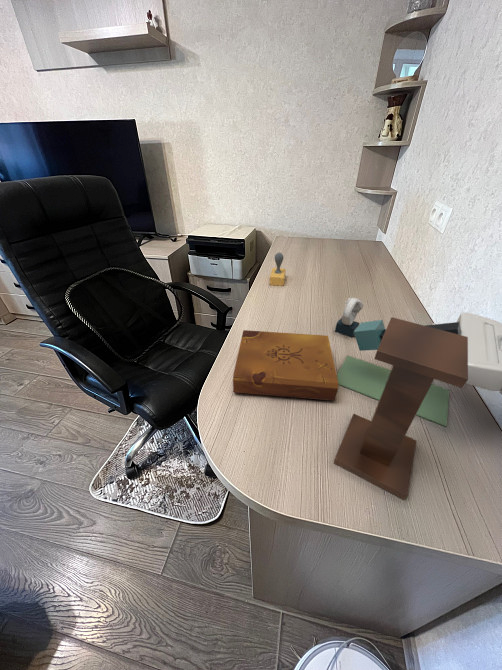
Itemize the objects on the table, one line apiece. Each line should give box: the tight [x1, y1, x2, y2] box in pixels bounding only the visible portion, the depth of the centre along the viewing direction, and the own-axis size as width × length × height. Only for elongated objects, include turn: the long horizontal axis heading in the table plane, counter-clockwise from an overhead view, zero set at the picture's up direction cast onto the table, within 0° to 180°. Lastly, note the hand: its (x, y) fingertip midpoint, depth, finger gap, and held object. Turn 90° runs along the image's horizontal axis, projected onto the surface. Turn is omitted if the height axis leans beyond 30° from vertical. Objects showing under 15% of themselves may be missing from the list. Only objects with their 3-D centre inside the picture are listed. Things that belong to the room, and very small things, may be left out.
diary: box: [232, 329, 339, 402], centre depth 69 cm, size 23×19×6 cm
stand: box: [333, 316, 468, 501], centre depth 45 cm, size 12×12×26 cm
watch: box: [334, 297, 364, 339], centre depth 83 cm, size 6×8×11 cm
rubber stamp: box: [269, 252, 287, 287], centre depth 114 cm, size 10×6×12 cm, turn 171°
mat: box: [336, 355, 450, 428], centre depth 66 cm, size 24×12×1 cm, turn 57°
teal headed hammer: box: [354, 319, 461, 352], centre depth 59 cm, size 5×19×5 cm, turn 52°
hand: (429, 333), depth 56 cm, fingers closed on teal headed hammer, 3 cm apart
